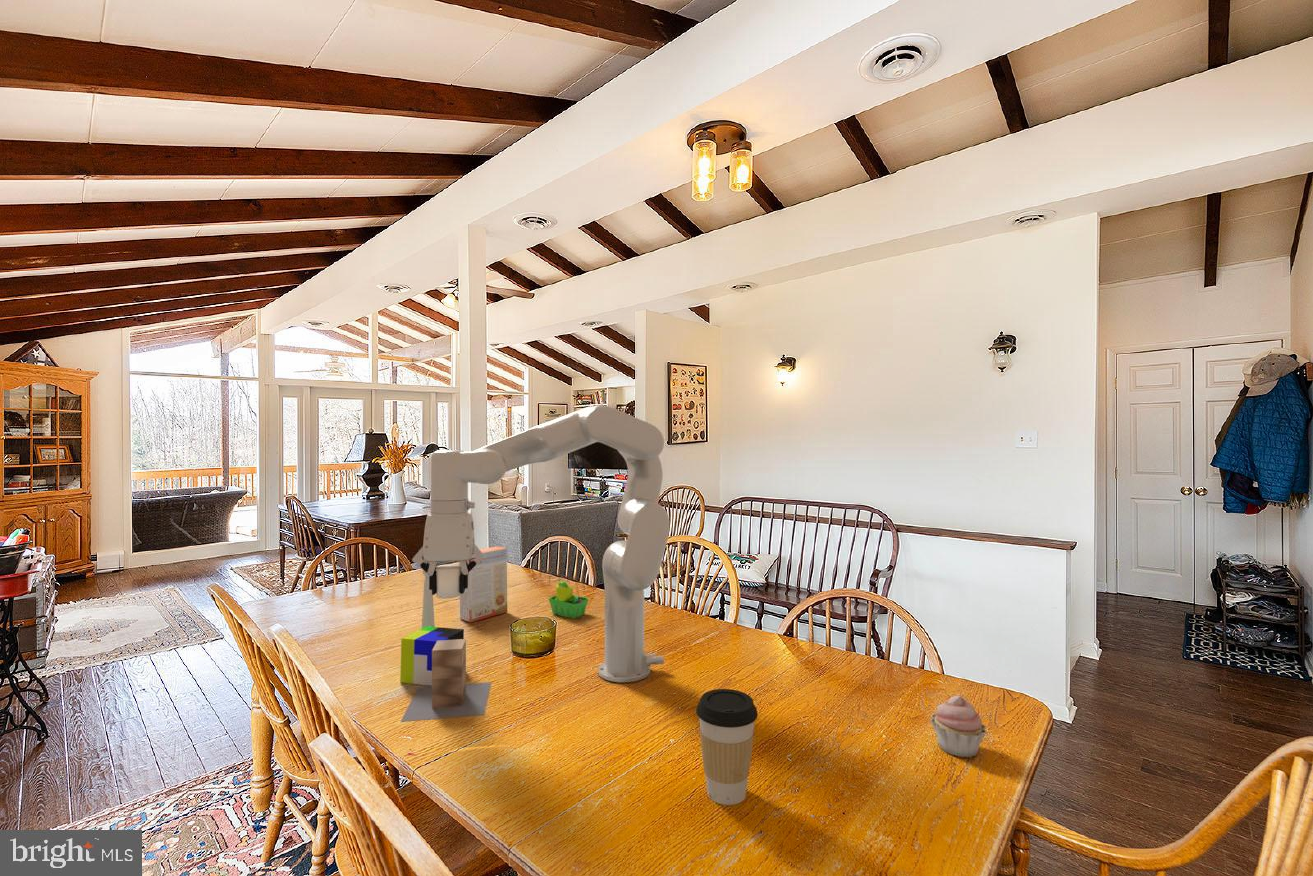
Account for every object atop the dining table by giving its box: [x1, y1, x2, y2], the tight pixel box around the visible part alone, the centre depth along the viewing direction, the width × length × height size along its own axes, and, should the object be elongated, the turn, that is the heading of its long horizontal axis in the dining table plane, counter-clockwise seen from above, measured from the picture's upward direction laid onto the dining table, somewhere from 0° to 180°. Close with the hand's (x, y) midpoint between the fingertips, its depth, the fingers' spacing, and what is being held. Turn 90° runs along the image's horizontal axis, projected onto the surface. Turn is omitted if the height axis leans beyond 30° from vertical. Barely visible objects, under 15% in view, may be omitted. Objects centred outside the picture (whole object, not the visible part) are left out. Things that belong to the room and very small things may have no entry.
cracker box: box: [458, 545, 508, 623], centre depth 185 cm, size 14×6×21 cm, turn 140°
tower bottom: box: [432, 666, 467, 708], centre depth 126 cm, size 6×6×6 cm
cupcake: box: [930, 695, 988, 759], centre depth 108 cm, size 9×9×10 cm
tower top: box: [432, 638, 467, 679], centre depth 126 cm, size 6×6×6 cm
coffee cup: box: [695, 688, 759, 806], centre depth 94 cm, size 10×10×15 cm
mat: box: [400, 681, 492, 723], centre depth 126 cm, size 16×16×1 cm
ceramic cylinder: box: [435, 564, 461, 599], centre depth 125 cm, size 5×5×6 cm
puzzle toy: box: [399, 626, 465, 686], centre depth 138 cm, size 10×10×10 cm
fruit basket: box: [548, 580, 590, 619], centre depth 187 cm, size 11×9×11 cm
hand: (448, 591), depth 125 cm, fingers closed on ceramic cylinder, 5 cm apart
